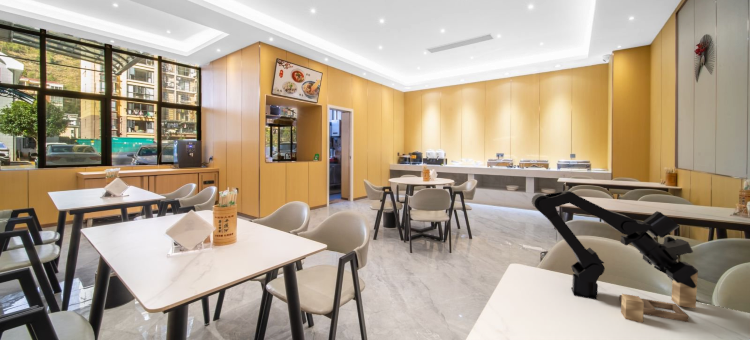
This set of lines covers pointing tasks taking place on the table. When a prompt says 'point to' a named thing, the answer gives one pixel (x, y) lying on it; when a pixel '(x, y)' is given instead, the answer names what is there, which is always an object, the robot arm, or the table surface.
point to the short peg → (632, 307)
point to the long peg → (684, 293)
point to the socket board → (651, 310)
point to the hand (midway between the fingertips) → (690, 284)
